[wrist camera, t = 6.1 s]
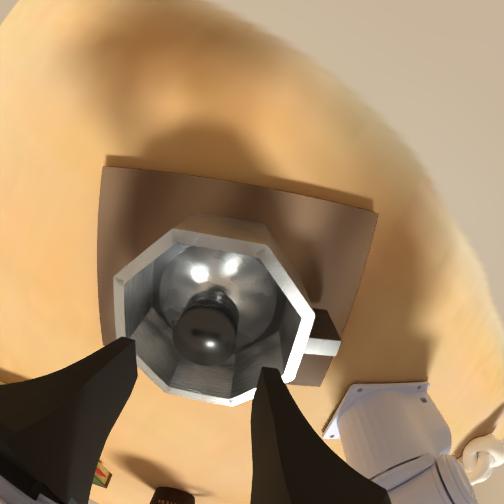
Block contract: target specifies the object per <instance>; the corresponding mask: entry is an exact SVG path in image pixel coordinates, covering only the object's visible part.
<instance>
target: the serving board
mask: <svg viewBox="0 0 504 504" xmlns="http://www.w3.org/2000/svg"><path fill="white" fill-rule="evenodd" d="M198 212H199V213H205V214H211V215H217V216H223V217H228V218H234V219H240V220H245V221H251V222H256V223H262V224H265V226H266V227H267V228H268V230H269V231H270V233H271V234H272V236H273V237H274V239H275V240H276V242H277V243H278V244H279V246H280V247H281V249H282V250H283V252H284V253H285V255H286V256H287V258H288V259H289V261H290V262H291V264H292V265H293V267H294V268H295V270H296V271H297V272H298V274H299V275H300V277H301V280H302V282H303V285H304V287H305V290H306V292H307V295H308V297H309V300H310V303H311V305H312V308H317V309H325V310H327V311H328V313H329V315H330V317H331V319H332V321H333V323H334V326H335V328H336V330H337V332H338V334H339V336H340V338H341V335H342V332H343V330H344V327H345V324H346V322H347V319H348V316H349V313H350V310H351V308H352V305H353V302H354V299H355V296H356V293H357V290H358V286H359V283H360V280H361V277H362V274H363V270H364V267H365V263H366V260H367V256H368V253H369V249H370V246H371V242H372V238H373V234H374V230H375V226H376V222H377V218H378V213H375V212H372V211H368V210H364V209H360V208H357V207H353V206H348V205H344V204H340V203H336V202H332V201H327V200H323V199H319V198H314V197H310V196H305V195H300V194H295V193H291V192H286V191H281V190H276V189H270V188H265V187H260V186H254V185H249V184H243V183H237V182H231V181H225V180H219V179H212V178H206V177H199V176H192V175H184V174H176V173H168V172H160V171H151V170H142V169H132V168H121V167H109V166H103V169H102V177H101V187H100V198H99V212H98V233H97V276H98V298H99V312H100V323H101V332H102V341H103V345H104V346H106V345H108V344H110V343H111V342H113V341H115V340H116V328H115V313H114V287H113V277H114V276H115V275H116V274H117V273H118V272H120V271H121V270H122V269H123V268H124V267H125V266H127V265H128V264H129V263H130V262H131V261H133V260H134V259H135V258H136V257H137V256H139V255H140V254H141V253H142V252H144V251H145V250H146V249H147V248H148V247H150V246H151V245H152V244H153V243H155V242H156V241H157V240H158V239H160V238H161V237H162V236H163V235H165V234H166V233H167V232H169V231H170V230H171V229H172V228H174V227H175V226H177V225H179V224H180V223H182V222H183V221H185V220H186V219H188V218H189V217H191V216H192V215H194V214H195V213H198ZM332 358H333V356H327V355H315V354H305V353H303V355H302V357H301V360H300V363H299V366H298V369H297V371H296V374H295V377H294V379H293V380H291V381H289V382H287V383H285V384H291V385H302V386H317V387H320V386H321V383H322V381H323V379H324V377H325V374H326V372H327V370H328V367H329V365H330V363H331V360H332Z"/></svg>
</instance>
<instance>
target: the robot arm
mask: <svg viewBox="0 0 504 504" xmlns="http://www.w3.org/2000/svg"><path fill="white" fill-rule="evenodd" d="M137 377H138V374H137V361H136V345H135V340H133V339H130V338H127V337H123V336H122V337H120V338H118V339H116V340H115V341H113V342H111V343H110V344H108V345H106V346H105V347H103V348H101V349H100V350H98V351H96V352H94V353H93V354H91V355H89V356H87V357H86V358H84V359H82V360H80V361H78V362H76V363H74V364H72V365H70V366H68V367H66V368H63V369H61V370H59V371H56V372H54V373H51V374H48V375H45V376H42V377H38V378H35V379H31V380H27V381H23V382H18V383H12V384H4V385H0V504H88V500H89V495H90V490H91V486H92V482H93V479H94V475H95V471H96V468H97V465H98V462H99V459H100V456H101V453H102V450H103V447H104V445H105V442H106V440H107V437H108V435H109V433H110V431H111V429H112V428H113V426H114V424H115V422H116V420H117V418H118V417H119V415H120V413H121V411H122V409H123V408H124V406H125V404H126V402H127V400H128V399H129V397H130V395H131V392H132V390H133V387H134V385H135V382H136V379H137ZM429 386H430V384H429V382H427V381H426V382H412V383H389V384H353V385H351V386H350V387H349V389H348V391H347V392H346V394H345V396H344V398H343V400H342V402H341V404H340V405H339V407H338V409H337V411H336V412H335V414H334V416H333V418H332V419H331V421H330V423H329V424H328V426H327V428H326V429H325V431H324V433H323V434H322V436H323V438H324V439H338V438H340V439H341V442H342V446H343V450H344V454H345V458H346V462H347V463H346V462H344V461H343V460H342V459H341V458H340V457H339V456H338V455H337V454H335V453H334V452H333V451H332V450H331V449H330V448H329V447H328V446H327V445H326V444H325V442H324V441H323V440H322V439H321V438H320V437H319V436H318V434H317V433H316V432H315V431H314V429H313V428H312V427H311V425H310V424H309V423H308V421H307V420H306V418H305V417H304V416H303V414H302V413H301V411H300V409H299V408H298V406H297V404H296V403H295V401H294V399H293V398H292V396H291V394H290V392H289V390H288V388H287V386H286V384H285V382H284V380H283V378H282V376H281V374H280V371H279V370H278V369H277V368H271V367H263V366H262V368H261V372H260V376H259V379H258V383H257V386H256V390H255V393H254V397H253V400H252V412H251V440H252V460H253V478H252V492H251V503H250V504H478V502H477V500H476V498H475V494H474V491H473V488H472V486H471V484H470V481H469V479H468V477H467V475H466V474H465V472H464V470H463V468H462V467H461V465H460V464H459V462H458V461H457V459H456V458H455V457H454V456H453V455H448V454H449V452H450V449H451V432H450V429H449V427H448V425H447V423H446V421H445V420H444V418H443V417H442V415H441V413H440V412H439V410H438V409H437V407H436V405H435V404H434V402H433V401H432V399H431V398H430V396H429V394H428V393H427V389H428V388H429Z"/></svg>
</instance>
